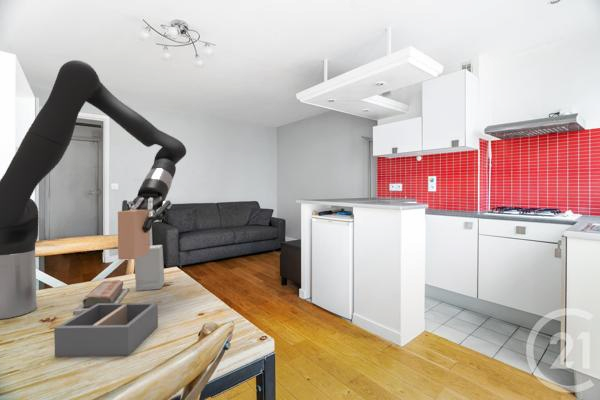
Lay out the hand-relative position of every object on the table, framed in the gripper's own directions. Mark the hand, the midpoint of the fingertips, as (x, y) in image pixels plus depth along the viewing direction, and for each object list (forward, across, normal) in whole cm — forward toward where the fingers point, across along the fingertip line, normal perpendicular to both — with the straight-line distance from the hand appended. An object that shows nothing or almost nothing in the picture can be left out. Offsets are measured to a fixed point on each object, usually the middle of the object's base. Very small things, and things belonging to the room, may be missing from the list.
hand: (135, 230), depth 76 cm
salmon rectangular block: (+5, 0, +4) cm, 7 cm away
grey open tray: (+25, 0, +9) cm, 26 cm away
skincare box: (-1, -8, +35) cm, 36 cm away
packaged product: (+8, -17, +26) cm, 32 cm away
